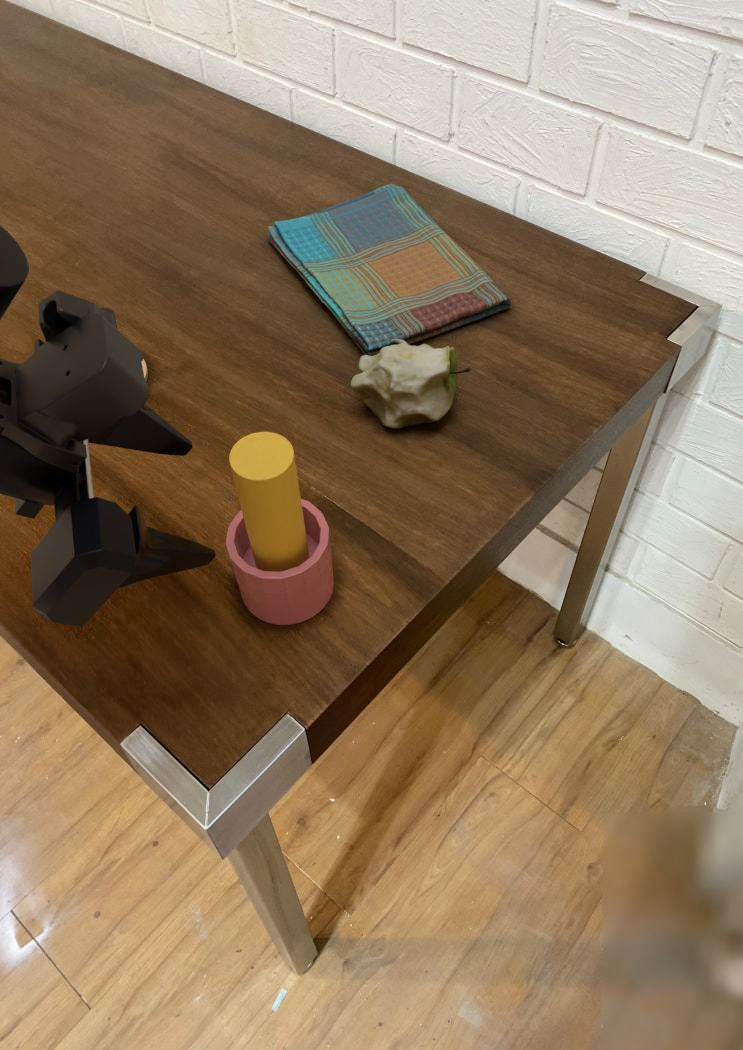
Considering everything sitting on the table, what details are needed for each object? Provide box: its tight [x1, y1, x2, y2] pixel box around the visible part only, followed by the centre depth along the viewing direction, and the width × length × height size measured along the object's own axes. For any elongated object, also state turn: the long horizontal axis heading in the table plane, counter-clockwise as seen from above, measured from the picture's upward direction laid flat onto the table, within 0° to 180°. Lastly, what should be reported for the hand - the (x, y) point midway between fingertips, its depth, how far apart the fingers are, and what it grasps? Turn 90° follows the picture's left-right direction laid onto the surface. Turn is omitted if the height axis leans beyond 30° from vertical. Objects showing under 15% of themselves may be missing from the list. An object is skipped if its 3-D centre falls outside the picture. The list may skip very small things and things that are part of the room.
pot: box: [225, 498, 335, 626], centre depth 57 cm, size 7×7×6 cm
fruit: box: [350, 339, 472, 430], centre depth 69 cm, size 9×9×8 cm
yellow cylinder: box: [228, 431, 310, 572], centre depth 53 cm, size 4×4×12 cm
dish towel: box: [266, 183, 512, 356], centre depth 82 cm, size 17×23×2 cm
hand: (199, 501), depth 50 cm, fingers open, 9 cm apart
